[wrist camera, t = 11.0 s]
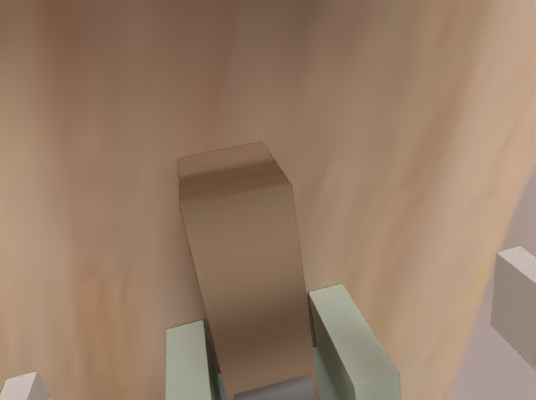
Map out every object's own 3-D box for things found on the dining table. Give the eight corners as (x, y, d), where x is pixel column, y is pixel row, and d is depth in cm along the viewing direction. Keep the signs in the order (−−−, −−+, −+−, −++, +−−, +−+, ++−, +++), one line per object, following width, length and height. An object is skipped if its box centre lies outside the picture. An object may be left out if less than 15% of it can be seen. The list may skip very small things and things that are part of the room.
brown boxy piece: (178, 157, 21) (180, 214, 15) (261, 140, 21) (295, 189, 15) (224, 353, 26) (239, 453, 20) (291, 336, 26) (325, 429, 20)
